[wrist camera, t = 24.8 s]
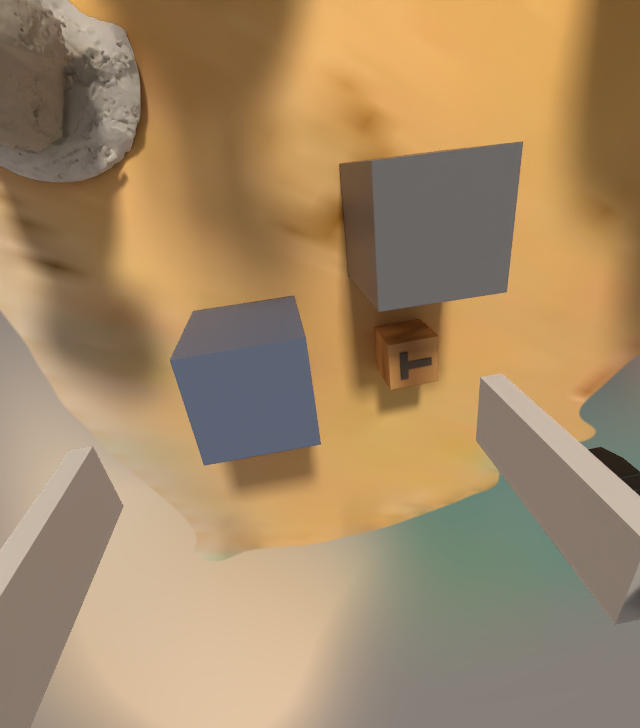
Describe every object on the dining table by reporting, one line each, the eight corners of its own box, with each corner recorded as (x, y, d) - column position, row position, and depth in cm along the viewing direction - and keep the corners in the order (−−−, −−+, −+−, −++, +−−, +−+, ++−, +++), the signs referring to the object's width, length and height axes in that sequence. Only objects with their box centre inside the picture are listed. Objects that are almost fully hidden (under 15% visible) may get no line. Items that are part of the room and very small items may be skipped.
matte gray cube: (448, 149, 32) (523, 141, 23) (445, 261, 36) (506, 292, 27) (339, 163, 31) (371, 160, 22) (348, 276, 35) (378, 312, 26)
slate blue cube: (294, 295, 35) (305, 338, 26) (307, 382, 39) (320, 444, 30) (193, 311, 34) (169, 360, 26) (217, 397, 39) (204, 465, 30)
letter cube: (419, 318, 38) (438, 336, 34) (420, 359, 40) (438, 381, 36) (374, 326, 38) (388, 346, 34) (377, 367, 40) (391, 390, 36)
